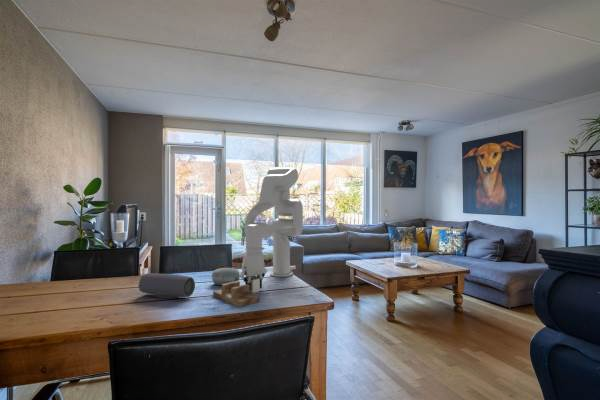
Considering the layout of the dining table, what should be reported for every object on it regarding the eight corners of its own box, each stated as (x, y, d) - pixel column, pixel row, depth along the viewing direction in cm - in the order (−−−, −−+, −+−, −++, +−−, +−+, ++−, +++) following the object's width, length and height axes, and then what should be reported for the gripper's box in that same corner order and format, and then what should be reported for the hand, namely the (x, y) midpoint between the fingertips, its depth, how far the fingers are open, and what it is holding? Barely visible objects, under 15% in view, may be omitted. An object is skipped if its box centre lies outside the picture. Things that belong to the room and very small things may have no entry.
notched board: (232, 291, 147) (232, 278, 147) (259, 301, 133) (259, 287, 133) (213, 295, 140) (213, 282, 140) (239, 307, 126) (239, 292, 126)
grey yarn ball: (242, 274, 165) (236, 259, 161) (241, 287, 157) (235, 272, 152) (217, 280, 165) (210, 266, 161) (214, 293, 157) (207, 279, 152)
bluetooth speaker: (195, 296, 140) (196, 273, 140) (182, 302, 131) (182, 278, 131) (152, 291, 146) (152, 270, 146) (137, 297, 137) (137, 274, 137)
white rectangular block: (254, 289, 150) (254, 275, 150) (259, 291, 148) (259, 277, 147) (247, 291, 148) (247, 277, 147) (252, 293, 145) (252, 278, 145)
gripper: (263, 247, 156) (263, 284, 156) (233, 252, 144) (233, 291, 144) (273, 249, 151) (273, 287, 151) (243, 254, 139) (243, 295, 139)
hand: (253, 289), depth 148 cm, fingers open, 5 cm apart
